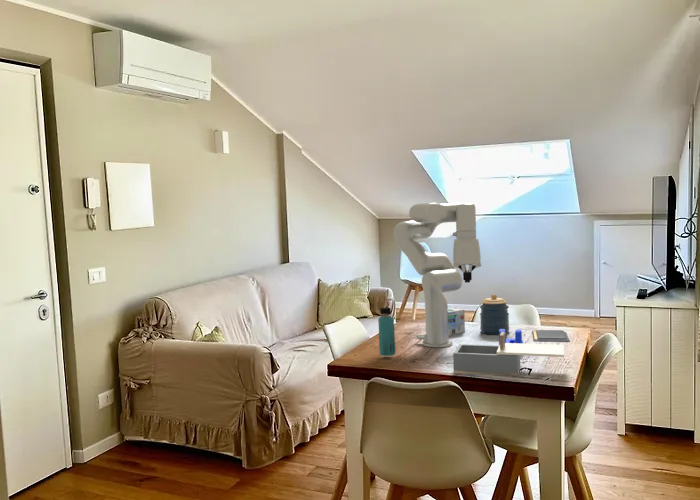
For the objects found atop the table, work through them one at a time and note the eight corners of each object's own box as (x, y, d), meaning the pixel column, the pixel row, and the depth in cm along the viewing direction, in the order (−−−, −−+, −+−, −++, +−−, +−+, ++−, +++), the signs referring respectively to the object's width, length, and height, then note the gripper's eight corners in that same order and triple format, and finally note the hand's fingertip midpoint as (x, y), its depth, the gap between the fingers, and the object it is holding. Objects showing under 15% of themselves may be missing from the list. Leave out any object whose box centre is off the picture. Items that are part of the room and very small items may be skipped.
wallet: (570, 339, 251) (532, 338, 256) (570, 343, 252) (532, 343, 256) (567, 329, 270) (531, 328, 275) (567, 333, 271) (531, 332, 275)
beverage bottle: (391, 360, 235) (389, 309, 233) (376, 358, 238) (374, 308, 237) (398, 356, 240) (396, 306, 239) (384, 354, 244) (382, 306, 242)
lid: (496, 354, 209) (496, 337, 208) (500, 344, 222) (500, 329, 221) (563, 357, 201) (563, 340, 201) (563, 347, 214) (563, 331, 214)
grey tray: (453, 372, 214) (453, 353, 214) (460, 362, 228) (459, 344, 227) (517, 376, 207) (517, 356, 206) (520, 365, 220) (520, 346, 220)
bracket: (521, 354, 236) (520, 331, 236) (499, 353, 239) (498, 331, 238) (523, 343, 253) (523, 322, 253) (503, 342, 256) (502, 322, 255)
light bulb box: (447, 335, 274) (446, 312, 273) (438, 333, 280) (437, 310, 279) (465, 332, 279) (465, 309, 278) (456, 329, 285) (455, 307, 284)
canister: (476, 333, 275) (475, 295, 273) (485, 328, 286) (484, 291, 284) (504, 336, 268) (503, 296, 267) (513, 330, 279) (512, 292, 278)
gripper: (445, 236, 233) (446, 283, 234) (484, 235, 228) (485, 283, 229) (448, 235, 240) (450, 280, 241) (487, 234, 235) (488, 280, 236)
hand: (467, 282), depth 235 cm, fingers closed
